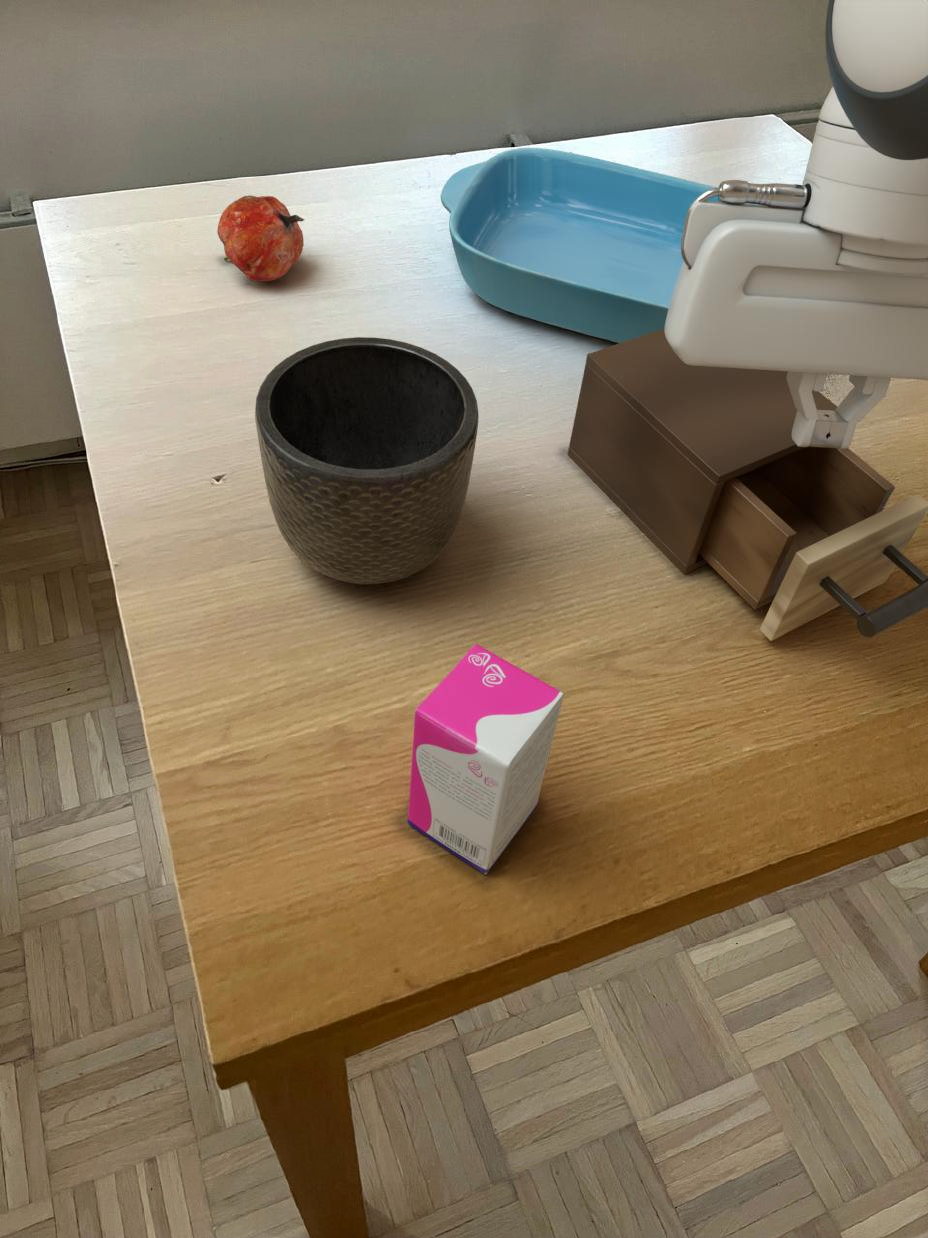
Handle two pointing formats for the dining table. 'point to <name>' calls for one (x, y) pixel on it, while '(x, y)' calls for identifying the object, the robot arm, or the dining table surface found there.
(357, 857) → the dining table surface
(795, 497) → the drawer
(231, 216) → the pomegranate
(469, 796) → the supplement box
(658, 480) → the cabinet
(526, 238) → the casserole dish
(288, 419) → the planter
